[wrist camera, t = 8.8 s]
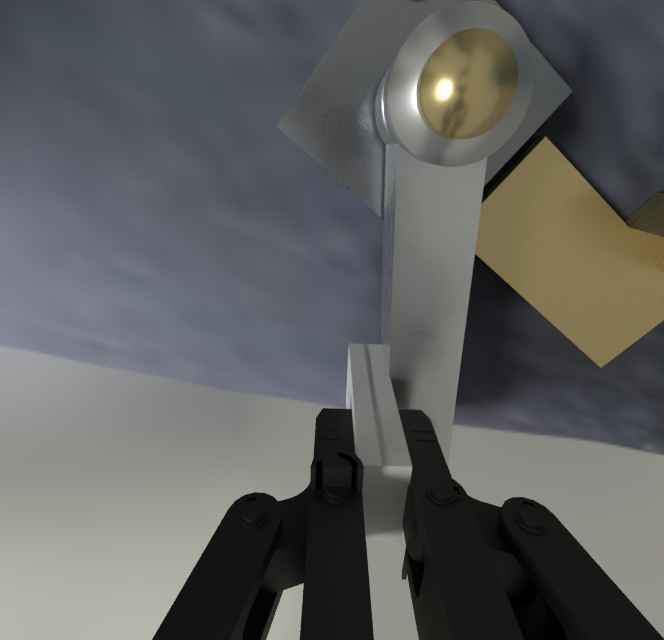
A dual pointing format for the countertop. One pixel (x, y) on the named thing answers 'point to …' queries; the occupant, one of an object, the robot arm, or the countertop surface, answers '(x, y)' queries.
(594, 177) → the countertop surface
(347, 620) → the robot arm
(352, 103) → the plate
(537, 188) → the keeper
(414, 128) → the latch bar
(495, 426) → the countertop surface
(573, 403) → the countertop surface
